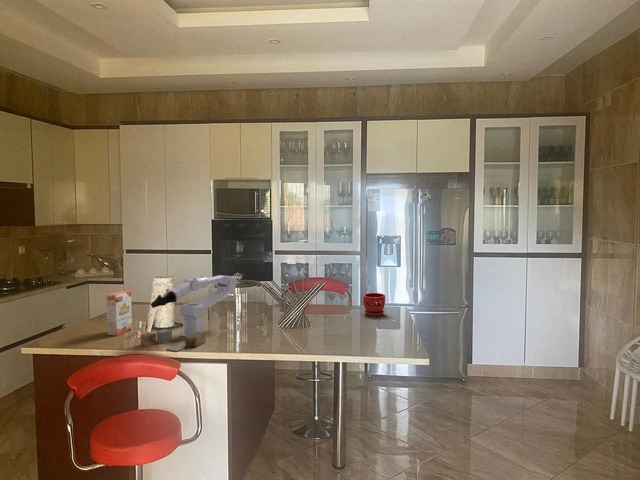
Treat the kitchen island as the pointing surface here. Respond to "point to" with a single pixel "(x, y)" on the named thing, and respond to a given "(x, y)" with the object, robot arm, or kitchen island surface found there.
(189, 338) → the stone block
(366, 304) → the plant pot
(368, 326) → the kitchen island surface
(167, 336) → the slate grey cube
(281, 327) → the kitchen island surface
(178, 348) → the tile
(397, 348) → the kitchen island surface
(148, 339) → the walnut cube
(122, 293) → the cracker box
